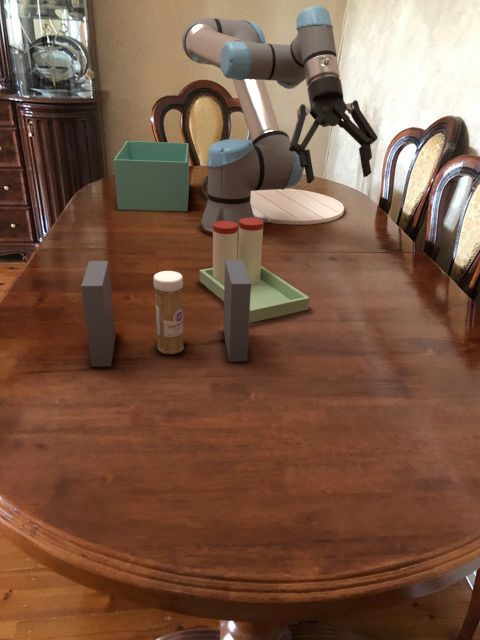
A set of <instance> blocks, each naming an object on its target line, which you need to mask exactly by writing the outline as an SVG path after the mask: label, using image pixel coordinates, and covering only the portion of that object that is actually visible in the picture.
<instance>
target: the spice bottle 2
mask: <svg viewBox="0 0 480 640" xmlns="http://www.w3.org/2000/svg"><path fill="white" fill-rule="evenodd" d="M263 236H264V222H263V221H262V220H260V219H256V218H243V219H240V220H239V237H238V242H237V260H243V263H244V266H245V268H246V271H247V274H248V277H249V280H250V282H251V285H255V284H258V283H259V282H260V274H261V266H262V255H263V240H264V239H263Z"/></svg>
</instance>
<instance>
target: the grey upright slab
mask: <svg viewBox="0 0 480 640" xmlns="http://www.w3.org/2000/svg"><path fill="white" fill-rule="evenodd" d="M250 294H251V282H250V280H249V277H248V274H247V271H246V268H245V266H244V263H243V260H238V259H237V260H225V284H224V301H223V333H224V343H225V347H226V352H227V358H228V361H229V362H230V363H232V362H234V363H235V362H247V361H248V356H249V353H248V351H249V334H250V333H249V332H250V331H249V330H250V323H249V315H250Z"/></svg>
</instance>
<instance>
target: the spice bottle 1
mask: <svg viewBox="0 0 480 640" xmlns="http://www.w3.org/2000/svg"><path fill="white" fill-rule="evenodd" d="M238 243H239V237H238V224H237V223H235V222H231V221H218V222H215V223H213V235H212V268H213V278H214V279H215V280H217V281H218V282H219V283H220V284H222V285H223V286H224V284H225V260H238Z"/></svg>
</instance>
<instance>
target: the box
mask: <svg viewBox="0 0 480 640" xmlns="http://www.w3.org/2000/svg"><path fill="white" fill-rule="evenodd" d="M189 149H190V148H189V143H187V142H169V141H167V142H165V141H163V142H162V141H141V140H126V142H125V143H124V144H123V146H122V147H121V149H120V150H119V152H118V153H117V154H116V156H115V157H114V159H113V166H114V167H113V168H114V179H115V189H116V190H115V191H116V202H117V203H116V204H117V210H118V211H122V210H123V211H151V212H153V211H155V212H188V209H189V193H190V192H189V191H190V163H189V162H190V157H189V156H190V155H189V154H190V151H189Z"/></svg>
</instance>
